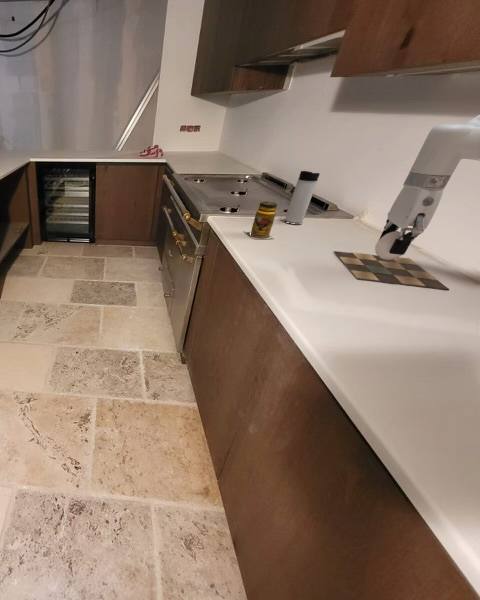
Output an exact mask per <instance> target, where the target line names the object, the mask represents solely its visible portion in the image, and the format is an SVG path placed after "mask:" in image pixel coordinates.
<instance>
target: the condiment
mask: <svg viewBox="0 0 480 600" xmlns="http://www.w3.org/2000/svg"><path fill="white" fill-rule="evenodd" d="M277 207H278V204H277V203H276V202H273V201H261V202H260V203H259V206H258V209H257V210H256V213H255V215H254V219H253V222H252V227H251V230H250V231H251V236H249V235H250V234H247V233H250V232H245V233H246V234H247V235H248V236H249V237H250V238H251V239H253V240H272V239H273V240H275V238H274V237H273V236H271V235H270V233H271V231H272V227H273V224H274V221H275V217H276V214H277V212H276V210H277Z"/></svg>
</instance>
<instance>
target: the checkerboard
mask: <svg viewBox="0 0 480 600" xmlns="http://www.w3.org/2000/svg"><path fill="white" fill-rule="evenodd" d="M333 253H334V255H335V256H336V257H337V258H338V259H339V260H340V262H341V263H342V265H344V267H345V268H346V269H347V270H348V271H349V272H350V274H351V275H352V276H353V277H354V279H356V280H360V281H367V282H375V283H384V284H385V283H386V284H390V285H391V284H392V285H401V286H407V287H408V286H410V287H416V288H425V289H435V290H442V291H450V288H449V287H447V286H446V285H445V284H443V282H441V281H439V279H438V278H437V277H435V276H434V275H432V274H431V273H429V272H428V271H426V270H425V269H424V268H423V267H422V266H419V264H418V263H416V261H414V260H412V258H410V257H402V256H400V257H398V258H395V259H391V260H385V259H382V258H380V257H379V256H378V255H377V254H371V253H360V252H349V251H347V252H346V251H336V250H333Z"/></svg>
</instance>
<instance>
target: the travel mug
mask: <svg viewBox="0 0 480 600" xmlns="http://www.w3.org/2000/svg"><path fill="white" fill-rule="evenodd" d="M320 174H321V173H319V172H312V171H309V170H300V173H299V176H298V179H297V182H296V184H295V188H294V190H293V193H292V197H291V198H290V202H289V205H288V209H287V212H286V215H285V218H284V222H285V221H286V222H289V223H295V224H300V223H302V224H303V222H304V219H305V217H306V214H307V210H308V209H309V205H310V203H311V199H312V197H313V195H314V191H315V189H316V186H317V184H318V183H317V182H318V180H319V178H320ZM300 225H301V224H300Z"/></svg>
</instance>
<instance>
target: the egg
mask: <svg viewBox="0 0 480 600" xmlns="http://www.w3.org/2000/svg"><path fill="white" fill-rule="evenodd" d="M399 234H400V231H399V230H397V231H395V232H390V233H388V234H386V235H384V236H383V237H382V238H380V237H379V238H380V239H379V238H378V240H379V241H378V240H377V242H376V244H375V247H374V251H375V255H378V256H379V257H380V258H382V259H385V260H391V259H395V258H398V257H402V255H399V254H391V253H389V251H390V249H391V247H392V245H393V243H394V242H395V240H396V239H398V238H399Z"/></svg>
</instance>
